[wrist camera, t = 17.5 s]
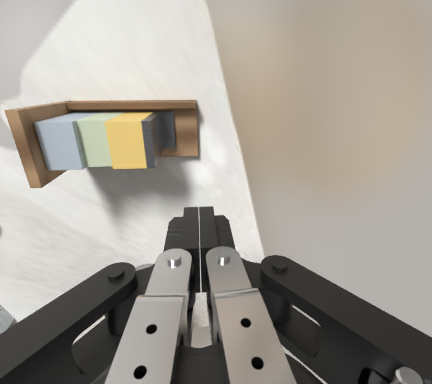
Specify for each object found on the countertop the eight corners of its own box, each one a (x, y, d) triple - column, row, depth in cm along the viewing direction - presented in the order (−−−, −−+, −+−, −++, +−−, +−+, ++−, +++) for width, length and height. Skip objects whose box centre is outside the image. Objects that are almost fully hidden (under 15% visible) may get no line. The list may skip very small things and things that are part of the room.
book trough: (197, 153, 41) (198, 183, 29) (79, 156, 40) (30, 188, 28) (196, 100, 38) (196, 108, 26) (66, 101, 36) (4, 110, 25)
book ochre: (158, 148, 39) (146, 168, 30) (132, 148, 39) (112, 169, 30) (154, 111, 37) (141, 121, 28) (127, 111, 37) (104, 121, 27)
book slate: (109, 148, 39) (82, 169, 29) (83, 149, 38) (47, 170, 29) (102, 111, 36) (71, 122, 27) (74, 112, 36) (33, 122, 27)
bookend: (175, 147, 39) (169, 167, 30) (158, 147, 39) (146, 167, 30) (173, 111, 37) (165, 120, 28) (154, 111, 37) (141, 121, 28)
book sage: (132, 148, 39) (115, 166, 31) (109, 148, 39) (86, 167, 30) (127, 111, 37) (107, 120, 28) (102, 111, 36) (75, 120, 28)
